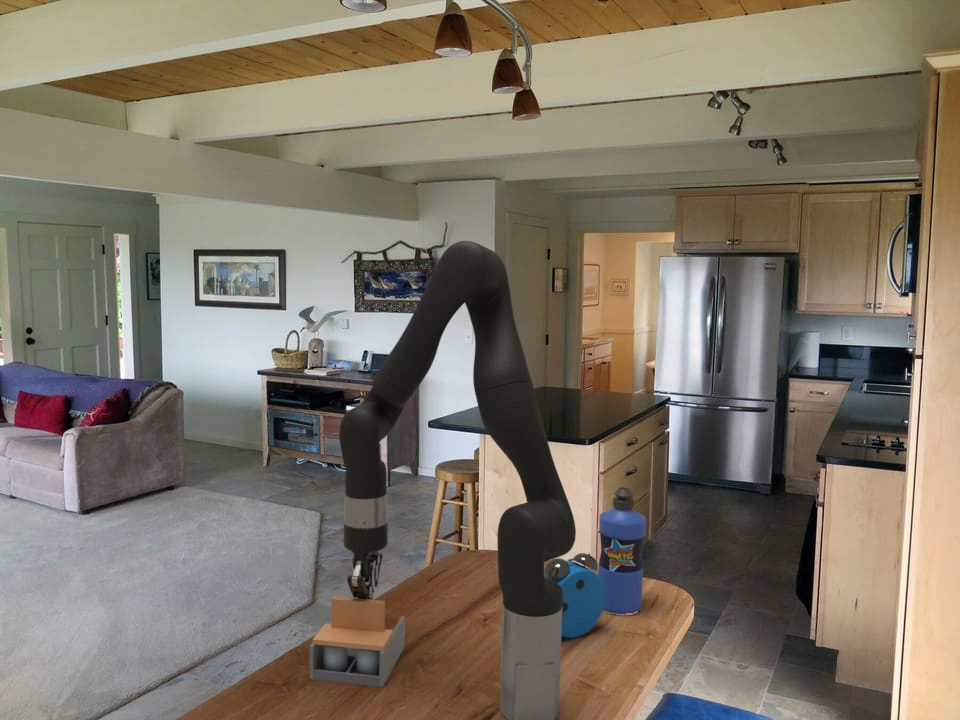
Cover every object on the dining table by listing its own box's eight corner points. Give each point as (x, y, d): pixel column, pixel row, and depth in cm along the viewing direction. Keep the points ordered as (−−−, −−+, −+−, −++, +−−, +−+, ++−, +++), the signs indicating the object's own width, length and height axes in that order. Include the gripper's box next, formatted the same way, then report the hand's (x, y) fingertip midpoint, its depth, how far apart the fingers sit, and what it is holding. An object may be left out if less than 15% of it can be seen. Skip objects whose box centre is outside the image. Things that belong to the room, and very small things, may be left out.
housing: (382, 692, 127) (383, 653, 126) (309, 684, 129) (309, 646, 128) (404, 651, 141) (404, 616, 140) (337, 645, 143) (338, 610, 142)
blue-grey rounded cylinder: (380, 680, 129) (381, 651, 128) (356, 681, 128) (356, 652, 128) (380, 668, 133) (381, 640, 132) (356, 669, 132) (357, 640, 132)
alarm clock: (585, 619, 156) (588, 545, 154) (605, 631, 151) (608, 555, 149) (531, 633, 149) (533, 557, 148) (550, 647, 144) (553, 568, 142)
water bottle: (599, 594, 168) (603, 480, 165) (643, 600, 166) (649, 484, 163) (593, 612, 159) (598, 492, 156) (640, 619, 157) (646, 496, 154)
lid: (383, 651, 127) (383, 616, 127) (312, 644, 129) (312, 610, 129) (393, 634, 133) (393, 601, 133) (325, 627, 135) (325, 595, 134)
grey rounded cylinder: (346, 677, 130) (346, 648, 129) (322, 677, 129) (322, 648, 129) (348, 665, 134) (348, 636, 133) (324, 665, 133) (324, 637, 133)
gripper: (375, 533, 128) (375, 635, 130) (397, 509, 141) (396, 602, 143) (331, 530, 129) (331, 631, 131) (356, 506, 142) (356, 599, 144)
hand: (365, 616), depth 137 cm, fingers closed
